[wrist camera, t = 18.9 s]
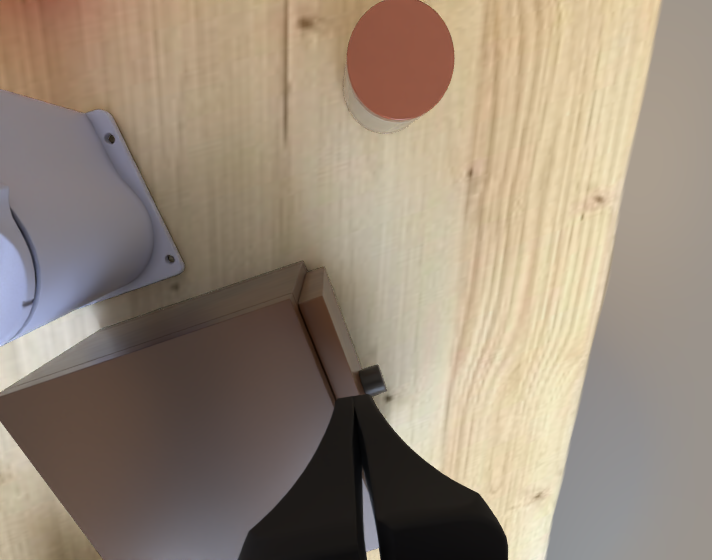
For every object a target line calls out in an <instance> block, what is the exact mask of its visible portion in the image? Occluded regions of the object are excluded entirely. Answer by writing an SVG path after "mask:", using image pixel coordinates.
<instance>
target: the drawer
mask: <svg viewBox="0 0 712 560" xmlns="http://www.w3.org/2000/svg"><path fill="white" fill-rule="evenodd" d="M298 307H299V309H300V312H301V314H302V317H303V319H304V322H305V324H306V327H307V329H308V332H309V334H310V336H311V339H312V341H313V344H314V346H315V349H316V351H317V354H318V356H319V359H320V361H321V364H322V366H323V369H324V371H325V374H326V376H327V379H328V381H329V384H330V386H331V389H332V391H333V394H334V396H335V399H336V400H337V399H338V398H343V397H350V396H357V395H363V394H369V395H371V396H375V395H378V394H381V393H384V392H386V391H387V389H386V386H385V382H384V379H383V376H382V373H381V370H380V368H379V365H378V364H377V365H374V366H371V367H368V368H365V369H362V367H361V365H360V362H359V359H358V357H357V354H356V351H355V348H354V346H353V343H352V340H351V337H350V335H349V332H348V329H347V326H346V324H345V321H344V318H343V316H342V313H341V310H340V307H339V305H338V302H337V299H336V296H335V294H334V291H333V288H332V285H331V283H330V280H329V277H328V275H327V272H326V269H325V267H321V268H318V269H315V270H312V271H309V272H306V275H305V279H304V283H303V286H302V290H301V294H300V298H299V301H298ZM372 399H373V398H372ZM373 401H374V400H373Z"/></svg>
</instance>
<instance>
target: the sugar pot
mask: <svg viewBox="0 0 712 560" xmlns="http://www.w3.org/2000/svg"><path fill="white" fill-rule="evenodd" d="M453 69H454V48H453V42H452V39H451V35H450V33H449V30H448V28H447V26H446V24H445V23H444V21H443V20H442V18H441V17H440V16H439V15H438V13H437V12H436V11H435V10H433V9H432V8H431V7H430V6H428V5H427V4H425V3H423V2H421V1H419V0H384V1H382V2H379V3H378V4H376V5H374V6H373V7H371V8H370V9H369V10H368V11H367V12H366V13H365V14H364V15H363V16H362V17H361V18H360V20H359V21H358V23H357V24H356V26H355V28H354V30H353V32H352V34H351V37H350V40H349V44H348V50H347V57H346V64H345V72H344V80H343V93H344V98H345V102H346V105H347V107H348V109H349V111H350V113H351V114H352V116H353V117H354V119H355V120H356V121H357V122H358V123H359V124H361V125H362V126H363V127H365V128H366V129H368V130H370V131H373V132H376V133H383V134H388V133H394V132H398V131H400V130H403V129H405V128H406V127H408V126H409V125H411V124H412V123H413V122H415V121H416V120H417V119H419V118H420V117H421V116H423V115H424V114H425V113H427V112H428V111H429V110H431V109H432V108H433V107H434V106H435V105H436V104H437V103H438V102H439V101H440V100H441V98H442V97H443V95H444V94H445V92H446V90H447V88H448V86H449V84H450V81H451V78H452V74H453Z"/></svg>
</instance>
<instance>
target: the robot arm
mask: <svg viewBox="0 0 712 560" xmlns="http://www.w3.org/2000/svg"><path fill="white" fill-rule="evenodd" d="M110 135H113V136H114V137H115V141H114V143H113V144H111V142H110V141H109V136H110ZM169 255H171V256H173V258H174V262H173V263H172V262H170V261H169V260H168V256H169ZM184 268H185V266H184V263H183V261H182V259H181V257H180V254H179V252H178V250H177V248H176V246H175V244H174V242H173V240H172V238H171V236H170V234H169V232H168V230H167V228H166V226H165V224H164V222H163V219H162V217H161V215H160V213H159V211H158V209H157V207H156V205H155V203H154V201H153V199H152V197H151V195H150V193H149V191H148V189H147V187H146V184H145V182H144V180H143V178H142V176H141V174H140V172H139V170H138V168H137V166H136V164H135V162H134V160H133V158H132V156H131V154H130V152H129V149H128V147H127V145H126V143H125V141H124V139H123V137H122V135H121V133H120V131H119V129H118V127H117V125H116V123H115V121H114V119H113V117H112V115H111V114H110V113H109V112H107V111H104V110H101V109H96V110H93V111H90V112H87V113H82V112H78V111H75V110H71V109H68V108H64V107H61V106H57V105H54V104H51V103H47V102H44V101H40V100H37V99H33V98H30V97H27V96H23V95H20V94H16V93H13V92H9V91H6V90H3V89H0V346H3V345H5V344H7V343H9V342H11V341H13V340H15V339H17V338H19V337H21V336H23V335H25V334H27V333H29V332H31V331H33V330H35V329H37V328H39V327H41V326H43V325H45V324H47V323H49V322H51V321H53V320H56V319H58V318H60V317H62V316H64V315H66V314H68V313H70V312H72V311H74V310H76V309H79V308H82V307H85V306H88V305H91V304H94V303H97V302H100V301H103V300H105V299H108V298H111V297H114V296H117V295H120V294H123V293H126V292H129V291H132V290H135V289H138V288H141V287H144V286H147V285H149V284H152V283H155V282H158V281H161V280H164V279H167V278H170V277H173V276H176V275H178V274H180V273H182V272H183V271H184ZM362 466H363V470H364V475H365V479H366V484H367V488H368V493H369V497H370V502H371V506H372V511H373V515H374V520H375V525H376V530H377V537H378V544H379V551H380V558H381V560H508V544H507V538H506V535H505V534H504V531H503V529H502V527H501V525H500V523H499V522H498V520H497V518H496V517H495V515H494V514H493V512H492V511H491V509H490V508H489V506H488V505H487V504H486V502H485V501H484V500H483V498H482V497H481V496H480V494H478V493H477V492H475V491H473V490H471V489H469V488H467V487H465V486H463V485H461V484H459V483H457V482H455V481H454V480H452V479H450V478H449V477H447V476H445V475H444V474H442V473H441V472H440V471H438V470H437V469H435V468H434V467H433V466H431V465H430V464H429V463H427V462H426V461H425V460H424V459H422V458H421V457H420V456H419V455H418V454H417V453H415V452H414V451H413V450H412V449H411V448H410V447H409V446H408V445H407V444H406V443H405V442H404V441H403V440H402V439H401V438H400V437H399V435H398V434H397V433H396V432H395V431H394V430H393V428H392V427H391V426H390V425H389V423H388V422H387V421H386V420H385V418H384V417H383V415H382V414H381V413H380V411H379V409H378V408H377V406H376V405H375V403H374V401H373V399H372V396H371V395H369V394H363V395H357V396H350V397H343V398H338V399H337V400H336V401H335V406H334V410H333V413H332V416H331V419H330V422H329V424H328V426H327V429H326V431H325V434H324V436H323V438H322V440H321V442H320V444H319V446H318V448H317V450H316V452H315V453H314V455H313V457H312V459H311V460H310V462H309V463H308V465H307V467H306V468H305V470H304V471H303V473H302V474H301V475H300V477H299V478H298V480H297V481H296V482H295V484H294V485H293V486H292V488H291V489H290V490H289V491H288V492H287V494H286V495H285V496H284V497H283V498H282V499H281V500H280V502H279V503H278V504H277V505H276V506H275V507H274V508H273V509H272V510H271V511H270V512H269V513H268V514H267V515H266V516H265V517H264V518H263V519H262V520H261V521H260V522H258V523H257V524H256V525H255V526H254V527H253V528H252V529H251V530H249V532H248V534H247V536H246V539H245V541H244V544H243V546H242V549H241V552H240V555H239V557H238V560H367V556H366V546H365V537H364V522H363V481H362Z"/></svg>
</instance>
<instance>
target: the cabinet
mask: <svg viewBox="0 0 712 560" xmlns="http://www.w3.org/2000/svg"><path fill="white" fill-rule="evenodd" d="M306 272H307V269H306V266H305V264H304V261H300V262H297V263H294V264H291V265H288V266H285V267H282V268H279V269H276V270H273V271H271V272H268V273H265V274H262V275H259V276H256V277H253V278H250V279H247V280H244V281H241V282H238V283H235V284H232V285H229V286H226V287H223V288H220V289H218V290H215V291H212V292H209V293H206V294H203V295H200V296H197V297H194V298H191V299H188V300H185V301H182V302H179V303H176V304H173V305H170V306H168V307H165V308H162V309H159V310H156V311H153V312H150V313H147V314H144V315H141V316H138V317H135V318H132V319H129V320H126V321H123V322H120V323H117V324H115V325H112V326H109V327H106V328H103V329H100V330H98V331H97V332H95V333H94V334H92V335H90V336H89V337H87V338H86V339H84V340H82V341H81V342H79V343H78V344H76V345H74V346H73V347H71V348H70V349H68V350H67V351H65V352H63V353H62V354H60V355H59V356H57V357H55V358H54V359H52V360H51V361H49V362H48V363H46V364H44V365H43V366H41V367H40V368H38V369H36V370H35V371H33V372H32V373H30V374H29V375H27V376H25V377H24V378H22V379H21V380H19V381H17V382H16V383H14V384H13V385H11V386H10V387H8V388H6V389H5V390H4V391H2V392H0V421H1V423H2V424H3V425H4V427H5V428H6V430H7V431H8V432H9V434H10V435H11V436H12V438H13V439H14V440H15V442H16V443H17V444H18V446H19V447H20V448H21V450H22V451H23V452H24V454H25V455H26V456H27V458H28V459H29V460H30V462H31V463H32V464H33V466H34V467H35V468H36V470H37V471H38V472H39V474H40V475H41V477H42V478H43V479H44V481H45V482H46V483H47V485H48V486H49V487H50V489H51V490H52V491H53V493H54V494H55V495H56V497H57V498H58V499H59V501H60V502H61V503H62V505H63V506H64V507H65V509H66V510H67V511H68V513H69V514H70V515H71V517H72V518H73V519H74V521H75V522H76V524H77V525H78V526H79V528H80V529H81V530H82V532H83V533H84V534H85V536H86V537H87V538H88V540H89V541H90V542H91V544H92V545H93V546H94V548H95V549H96V550H97V552H98V553H99V554H100V556H101V557H102V558H103V560H238V557H239V555H240V552H241V549H242V546H243V544H244V541H245V539H246V536H247V534H248V532H249V530H251V529H252V528H253V527H254V526H255V525H256V524H257V523H258V522H260V521H261V520H262V519H263V518H264V517H265V516H266V515H267V514H268V513H269V512H270V511H271V510H272V509H273V508H274V507H275V506H276V505H277V504H278V503H279V502H280V500H281V499H282V498H283V497H284V496H285V495H286V494H287V492H288V491H289V490H290V489H291V488H292V486H293V485H294V484H295V482H296V481H297V480H298V478H299V477H300V475H301V474H302V473H303V471H304V470H305V468H306V467H307V465H308V463H309V462H310V460H311V459H312V457H313V455H314V453H315V452H316V450H317V448H318V446H319V444H320V442H321V440H322V438H323V436H324V434H325V431H326V429H327V426H328V424H329V422H330V419H331V416H332V413H333V410H334V406H335V401H336V399H335V396H334V394H333V391H332V389H331V386H330V384H329V381H328V379H327V376H326V374H325V371H324V369H323V366H322V364H321V361H320V359H319V356H318V354H317V351H316V349H315V346H314V344H313V341H312V339H311V336H310V334H309V332H308V329H307V327H306V324H305V322H304V319H303V317H302V314H301V312H300V309H299V307H298V301H299V298H300V294H301V290H302V286H303V283H304V279H305V275H306ZM362 481H363V522H364V537H365V546H366V552H368V551H371V550H374V549H377V548H379V544H378V537H377V530H376V525H375V520H374V515H373V511H372V506H371V502H370V497H369V493H368V488H367V484H366V479H365V475H364V470H363V466H362Z"/></svg>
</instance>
